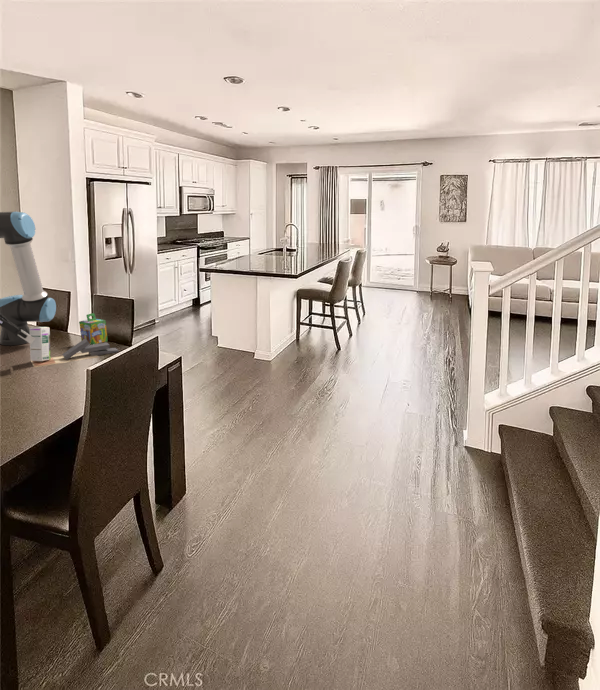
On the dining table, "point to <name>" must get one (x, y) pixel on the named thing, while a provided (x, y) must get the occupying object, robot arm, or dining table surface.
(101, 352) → the domino
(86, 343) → the domino
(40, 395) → the dining table surface
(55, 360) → the birch board
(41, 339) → the syrup box
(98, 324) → the chalk box
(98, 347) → the domino
